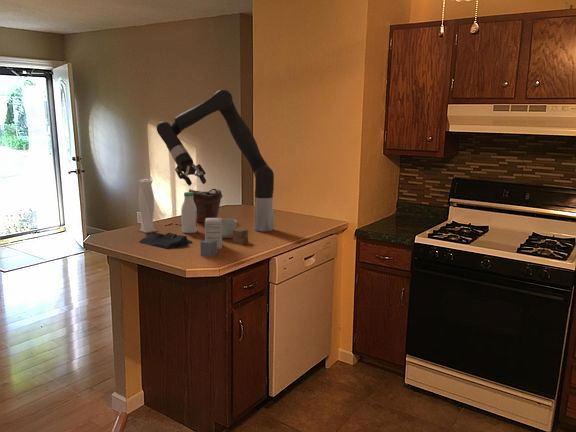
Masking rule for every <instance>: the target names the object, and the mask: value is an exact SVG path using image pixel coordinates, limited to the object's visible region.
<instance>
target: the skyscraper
mask: <svg viewBox="0 0 576 432" xmlns="http://www.w3.org/2000/svg"><path fill="white" fill-rule="evenodd" d="M138 184H139V191H138V208H139V214H140V218H141V223H140V224H141V225H140V229H138V232H141V233H144V234H149V233H150V234H151V233H157V232H159V230H158V229H156V228H155V225H154V224H153V216H154V210H155V197H154V191H153V186H152V184H153V177H152V176H151V175H150V176H149V177H148V178H143V179H142V178H140V179H139V180H138Z"/></svg>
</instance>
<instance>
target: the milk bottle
mask: <svg viewBox="0 0 576 432" xmlns="http://www.w3.org/2000/svg"><path fill="white" fill-rule="evenodd" d="M193 195H194V194H193V192H189V191H184V193H183V196H184V197H183V198H184V201H183V203H182V205H181V213H180V215H181V216H180V217H181V221H180V222H181V232H182V233H185V234H193V233H197V231H198V222H197V208H196V205H195V203H194V200H193V197H194V196H193Z"/></svg>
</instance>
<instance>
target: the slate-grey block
mask: <svg viewBox="0 0 576 432" xmlns="http://www.w3.org/2000/svg"><path fill="white" fill-rule="evenodd" d="M199 243H200V245H199V246H200V256H202V257H209V258H212V257H214V256H216V255H218V249H217V241H216V240H209V239H206V240H205V239H204V240H202V241H200V242H199Z"/></svg>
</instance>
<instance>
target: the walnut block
mask: <svg viewBox="0 0 576 432" xmlns="http://www.w3.org/2000/svg"><path fill="white" fill-rule="evenodd" d="M232 243H235V244H237V245H242V244H247V243H249V229H246V228H242V227H240V228H237V229H235V230H233V237H232Z"/></svg>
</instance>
